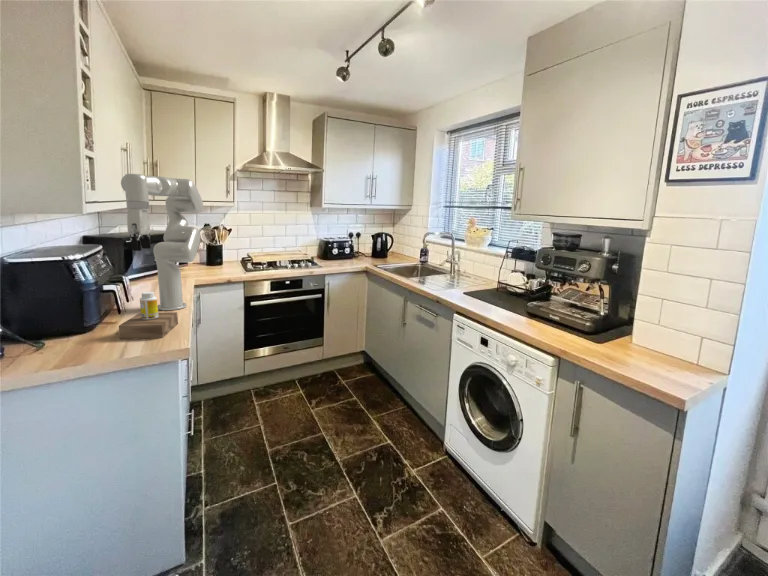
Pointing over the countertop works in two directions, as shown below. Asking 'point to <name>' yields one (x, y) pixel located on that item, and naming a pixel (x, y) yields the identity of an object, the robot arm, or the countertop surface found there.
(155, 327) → the walnut riser
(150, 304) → the supplement bottle
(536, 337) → the countertop surface
